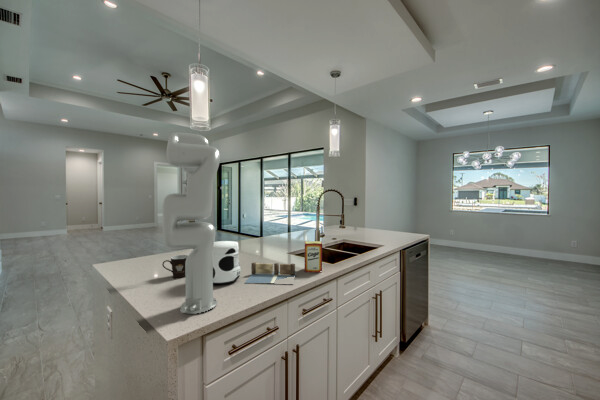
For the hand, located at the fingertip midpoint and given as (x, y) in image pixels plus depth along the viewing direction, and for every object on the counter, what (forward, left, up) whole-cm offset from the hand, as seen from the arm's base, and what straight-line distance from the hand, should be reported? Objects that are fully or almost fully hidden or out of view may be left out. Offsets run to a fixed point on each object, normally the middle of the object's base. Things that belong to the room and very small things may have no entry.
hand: (193, 216), depth 129 cm
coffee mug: (-4, +6, -31) cm, 32 cm away
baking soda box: (+12, -63, -31) cm, 71 cm away
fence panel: (+2, -36, -30) cm, 47 cm away
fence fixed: (+2, -48, -30) cm, 57 cm away
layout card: (-2, -42, -30) cm, 52 cm away
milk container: (-8, -19, -31) cm, 37 cm away
